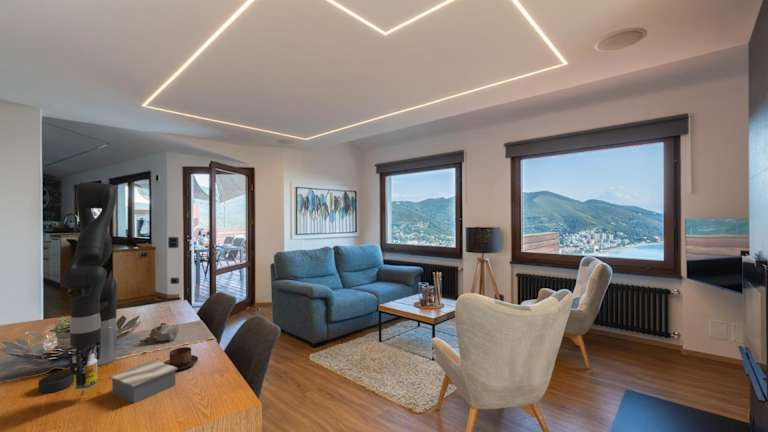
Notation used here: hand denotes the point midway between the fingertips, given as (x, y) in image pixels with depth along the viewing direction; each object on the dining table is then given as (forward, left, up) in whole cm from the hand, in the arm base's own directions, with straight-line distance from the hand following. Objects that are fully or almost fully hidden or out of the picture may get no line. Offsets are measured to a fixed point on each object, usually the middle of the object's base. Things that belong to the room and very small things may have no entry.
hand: (86, 380), depth 111 cm
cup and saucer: (+3, +29, -6) cm, 30 cm away
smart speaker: (-19, -1, -6) cm, 20 cm away
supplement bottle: (0, 0, -2) cm, 2 cm away
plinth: (+10, +12, -6) cm, 17 cm away
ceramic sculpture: (-32, +41, -6) cm, 53 cm away
